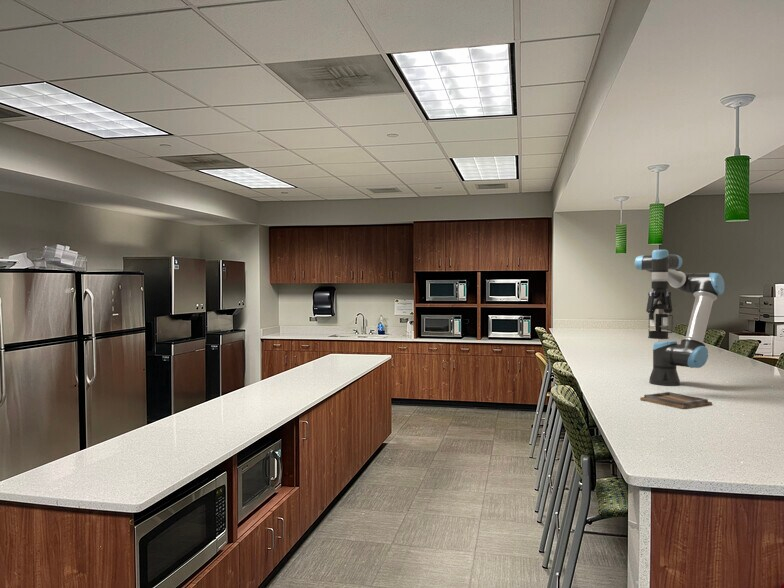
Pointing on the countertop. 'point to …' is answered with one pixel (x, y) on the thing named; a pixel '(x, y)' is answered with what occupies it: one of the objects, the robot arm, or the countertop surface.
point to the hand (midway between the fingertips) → (659, 326)
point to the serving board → (676, 400)
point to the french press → (658, 333)
